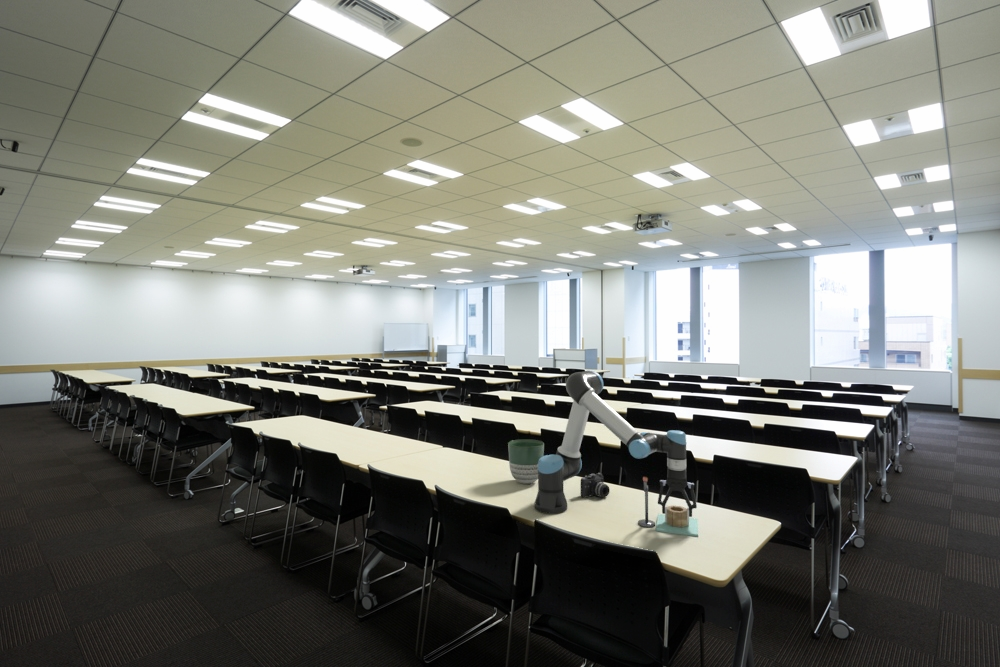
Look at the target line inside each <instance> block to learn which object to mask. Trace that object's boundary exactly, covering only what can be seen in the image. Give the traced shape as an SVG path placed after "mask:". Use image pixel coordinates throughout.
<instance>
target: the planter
mask: <svg viewBox="0 0 1000 667" xmlns="http://www.w3.org/2000/svg"><path fill="white" fill-rule="evenodd" d="M507 444H508V445H507V446H508V447H507V448H508V461H509V463H508V464H509V471H510V474H511V476H512V478H513V479H515V481H517V482H518V483H520V484H525V485H528V484H533V483H536V481H538V461H539V459H540V458H541V457H543V456H545V455H544V454H545V452H544V451H545V443H544V442H543V441H542V440H538V439H537V440H536V439H515V440H513V439H512V440H510V441H509V442H507Z"/></svg>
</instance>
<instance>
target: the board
mask: <svg viewBox="0 0 1000 667" xmlns="http://www.w3.org/2000/svg"><path fill="white" fill-rule="evenodd" d="M698 522H699V521H698V518H697V517H696V518H695V517H689V525H687V526H685V527H674V526H671V525H669V524H667V523H666V522H665V514H663V513H662V514H661V513H658V514H657V521H656V524H655V531H656V532H661V533H667V534H675V535H676V534H678V535H684V536H691V537H699V527H698V526H699V523H698Z"/></svg>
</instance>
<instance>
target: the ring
mask: <svg viewBox="0 0 1000 667" xmlns="http://www.w3.org/2000/svg"><path fill="white" fill-rule="evenodd" d="M667 524H669V525H671V526H674V527H685V526H687V507H685V506H684V507H683V506H681V505H667Z"/></svg>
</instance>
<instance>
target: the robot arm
mask: <svg viewBox="0 0 1000 667" xmlns="http://www.w3.org/2000/svg"><path fill="white" fill-rule="evenodd" d="M565 388H566V392H567V393H568V395H569V397H570V398H571V399H572V400H573V401H572V405H571V409H570V412H569V415H568V420H567V424H566V427H565V432H564V435H563V440H562V443H561V445H560V446H558V447H557V450H556V453H555V454H549V455H548V454H546V455H544V456H543V457H541V458H540V459H539V461H538V479H537V481H538V484H537V485H538V487H537V488H538V489H537V492H536V493H537V494H536V497H535V501H534V509H535V511H537V512H539V513H544V514H562V513H565V512H567V510H568V502H567V499H566V495H565V493H564V481H567V480H569V479H572V478H573V477H576V476H577V475H578V474H579V473H580V471H581V469H582V465H583V464H582V462H583V461H582V459H581V457H582V454H581V452H580V449H581V444H582V441H583V439H584V433H585V431H586V425H587V423H588V418H589V415H590V413H591V414H592V416H594V417H595V418H596V419H597V420H598V421H599V422H600V423H602V424H603V425H604V427H606V428H607V429H608V431H610V432H611V433H612V434H614V436H616V437H617V438H618V439H619V440H620V441H621V442H622V443H623V444H625V446H626V447H627V448H628V452H629V453H630V454H629V455H631V456H632V457H633V458H635V459H640V460H641V459H644V458H647V457H648V456H649V455H651V454H653V453H655V452H656V453H663V454H664V453H665V454H666V466H667V469H666V470H667V471H666V473H667V475H666V479H665V480H664V479H660V480H659V485H660V486H659V494H658V498H657V504H658V505H660V506H661V512H662V514H663V515H665V522H666V523H667V507H668V505H667V503H668V501H669V498H670V497H671V494H672V492H676V491H677V492H681V494H682V496H683V498H684V500H685V503H686V505H687V507H686V509H687V525H689V518H693V510H694V509H697V507H698V506H697V500H696V494H695V490H694V489H695V483H694V482H688V481H687V437H686V433H685V432H684V431H681V430H677V429H676V430H673V429H672V430H668V431H667V432H666V434H661V433H652V432H649V431H648V432H639V431H638V430H637V429H636V428H634V427H633V426H632V425H631V424H630V423H629V422H628V421H627V420H625V418H623V417H622V415H620V414H619V413H618V412H616V411H615V410H614V408H612V407H611V406H610V405H609V404H607V402H605V401H604V400H603V399H602V398H601V397H600V396H599V395H600V394H601V392H602V391H603V390H604V380H603V377H602V376H601V375H600V374H599V373H598V372H596V371H593V370H584V371H578V372H574V373H571V374H570V375H569V376H568V377H567V379H566V382H565ZM666 484H667V486H668V490H667V492H666V494H665V496H664V498H663V492H664V487H665V486H666ZM687 486H688V489H690V495H691V500H690V499H689V497H688V494H687V492H686V489H685V488H686V487H687ZM662 498H663V501H662ZM691 501H692V503H691Z"/></svg>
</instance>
